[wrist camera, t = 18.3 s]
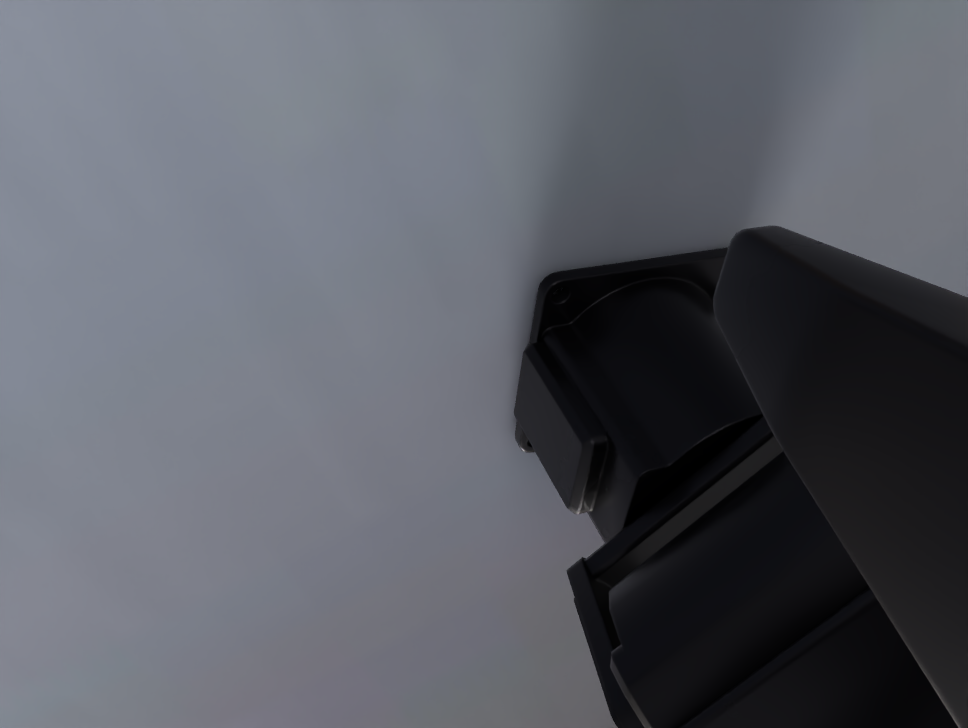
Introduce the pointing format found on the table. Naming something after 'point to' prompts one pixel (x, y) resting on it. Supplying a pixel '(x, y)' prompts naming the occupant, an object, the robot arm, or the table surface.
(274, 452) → the table surface
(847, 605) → the robot arm
